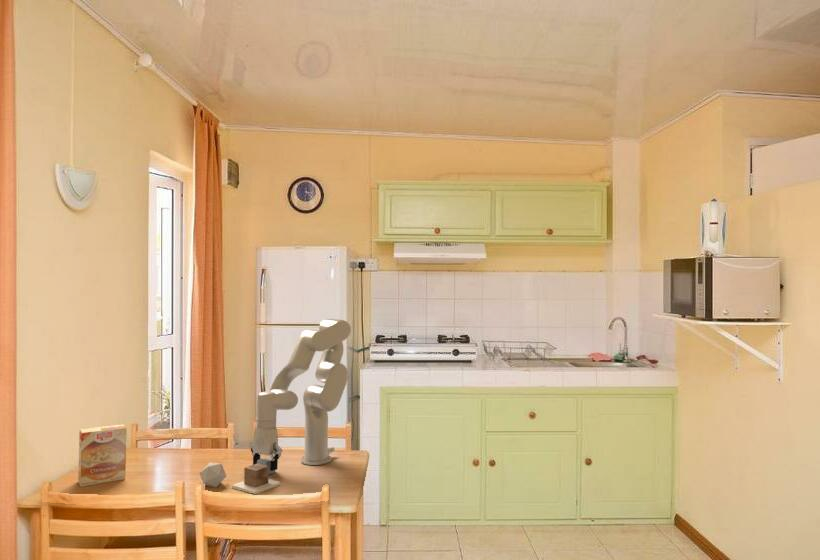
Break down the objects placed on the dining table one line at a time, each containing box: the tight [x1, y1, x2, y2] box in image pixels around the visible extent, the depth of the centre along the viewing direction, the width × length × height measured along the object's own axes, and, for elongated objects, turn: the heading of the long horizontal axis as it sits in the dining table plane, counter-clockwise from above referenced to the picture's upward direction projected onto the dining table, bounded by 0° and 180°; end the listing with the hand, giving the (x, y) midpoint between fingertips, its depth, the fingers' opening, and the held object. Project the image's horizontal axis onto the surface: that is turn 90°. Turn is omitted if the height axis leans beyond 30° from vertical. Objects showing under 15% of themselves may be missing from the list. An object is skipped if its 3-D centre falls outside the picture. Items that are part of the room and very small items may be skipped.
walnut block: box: [243, 464, 270, 488], centre depth 204 cm, size 6×6×6 cm
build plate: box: [231, 478, 281, 495], centre depth 204 cm, size 12×12×1 cm
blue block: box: [257, 456, 276, 475], centre depth 220 cm, size 5×5×5 cm
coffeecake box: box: [77, 423, 127, 488], centre depth 209 cm, size 15×7×20 cm, turn 126°
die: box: [199, 461, 227, 488], centre depth 205 cm, size 8×9×10 cm
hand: (265, 467), depth 219 cm, fingers open, 9 cm apart
